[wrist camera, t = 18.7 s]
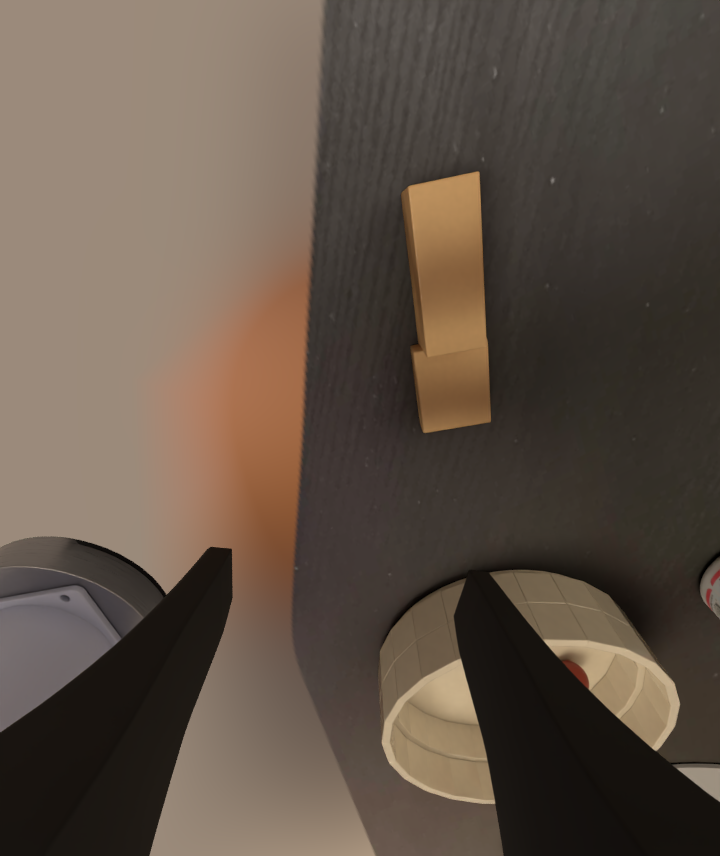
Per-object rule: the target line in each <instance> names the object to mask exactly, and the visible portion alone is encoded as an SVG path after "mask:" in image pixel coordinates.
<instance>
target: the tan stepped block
mask: <svg viewBox="0 0 720 856" xmlns="http://www.w3.org/2000/svg"><path fill="white" fill-rule="evenodd" d="M401 200H402V208H403V217H404V225H405V234H406V242H407V250H408V259H409V267H410V276H411V284H412V293H413V301H414V309H415V318H416V326H417V335H418V343H419V344H416V345H412V346H410V351H411V358H412V366H413V374H414V382H415V389H416V397H417V405H418V413H419V420H420V425H421V428H422V431H423V433H428V432H434V431H440V430H446V429H452V428H458V427H465V426H471V425H477V424H483V423H489V422H491V408H490V383H489V358H488V340H487V338H486V317H485V293H484V269H483V244H482V220H481V196H480V173H479V172H478V171H477V172H472V173H467V174H462V175H458V176H453V177H448V178H443V179H439V180H434V181H429V182H425V183H420V184H415V185H410V186H408V187H407V188H406V189H405V190H404V191H403V192H402V193H401Z"/></svg>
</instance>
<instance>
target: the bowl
mask: <svg viewBox="0 0 720 856" xmlns="http://www.w3.org/2000/svg"><path fill="white" fill-rule="evenodd" d="M489 573H490V575H491V576H492V577H493V578H494V580H495V581H496V582H497V583H498V585H499V586H500V587H501V589H502V590H503V591H504V592H505V594H506V595H507V596H508V598H509V599H510V600H511V601H512V603H513V604H514V605H515V607H516V608H517V609H518V610H519V612H520V613H521V614H522V615H523V617H524V618H525V619H526V620H527V622H528V623H529V624H530V625H531V626H532V628H533V629H534V630H535V631H536V632H537V634H538V635H539V636H540V637H541V638H542V640H543V641H544V642H545V643H546V644H547V645H548V646H549V648H550V649H551V650H552V651H553V652H554V653H555V654H556V655H557V657H558V658H559V659H560V660H561V661H564V660H567V661H572V662H574V663H576V664H578V665H579V666H580V667H581V668H582V669H583V670H584V671H585V673H586V674H587V676H588V680H589V690H590V691H591V692H592V693H593V694H594V695H595V696H596V697H597V698H598V699H599V700H600V701H601V702H602V703H603V704H604V705H605V706H606V707H607V708H608V709H609V710H610V711H611V712H612V713H613V714H614V715H615V716H617V717H618V718H619V719H620V720H621V721H622V722H623V723H624V724H625V725H626V726H628V727H629V728H630V729H631V730H632V731H633V732H634V733H635V734H637V735H638V736H639V737H640V738H641V739H642V740H643V741H644V742H646V743H647V744H648V745H649V746H650V747H651V748H653V749H654V750H655V751H656V750H658V749H659V748H660V747H661V746H662V744H663V743H664V741H665V740H666V739H667V737H668V736H669V734H670V733H671V731H672V730H673V729H674V726H675V724H676V720H677V716H678V712H679V707H680V702H679V698H678V695H677V691H676V687H675V684H674V682H673V680H672V679H671V677H670V676H669V675H668V673H667V672H666V670H665V669H664V668H663V666H662V665H661V663H660V662H659V661H658V659H657V658H656V656H655V655H654V653H653V652H652V651H651V649H650V648H649V646H648V645H647V644H646V642H645V641H644V639H643V638H642V637H641V635H640V634H639V632H638V631H637V630H636V628H635V627H634V625H633V624H632V622H631V621H630V620H629V618H628V617H627V615H626V614H625V613H624V612H623V610H622V609H621V608H620V607H619V606H618V605H617V604H616V603H615V602H614V600H613V599H612V598H611V597H610V596H609V595H608V594H606V593H604V592H602V591H600V590H599V589H597V588H595V587H593V586H591V585H589V584H588V583H586V582H584V581H581V580H577V579H573V578H570V577H567V576H564V575H560V574H556V573H551V572H546V571H537V570H505V571H496V572H489ZM465 581H466V578H465V579H462V580H459V581H456V582H454V583H451V584H449V585H446V586H444V587H442V588H440V589H438V590H436V591H434V592H433V593H431V594H429V595H427V596H426V597H424V598H423V599H422V600H420V601H419V602H417V603H416V604H415V605H414V606H412V607H411V608H410V609H409V610H408V611H407V612H406V613H405V614H404V615H403V616H402V617H401V618H400V620H399V621H398V622H397V623H396V625H395V626H394V627H393V628H392V629H391V631H390V632H389V634H388V636H387V638H386V640H385V642H384V644H383V646H382V648H381V650H380V657H379V666H378V680H379V700H380V720H381V740H382V745H383V748H384V751H385V754H386V756H387V759H388V762H389V763H390V764H391V765H392V767H393V768H394V769H395V770H396V771H397V772H398V773H399V774H400V775H401V776H402V777H403V778H404V779H406V780H407V781H409V782H411V783H413V784H414V785H416V786H418V787H420V788H421V789H423V790H425V791H427V792H431V793H434V794H437V795H440V796H443V797H446V798H450V799H454V800H461V801H468V802H475V803H483V804H495V799H494V793H493V788H492V782H491V777H490V772H489V766H488V761H487V756H486V751H485V747H484V743H483V738H482V734H481V731H480V727H479V723H478V720H477V716H476V712H475V709H474V705H473V702H472V698H471V694H470V691H469V687H468V683H467V680H466V676H465V672H464V669H463V665H462V661H461V657H460V654H459V649H458V643H457V637H456V630H455V623H454V613H455V610H456V607H457V604H458V601H459V598H460V596H461V593H462V590H463V587H464V584H465Z"/></svg>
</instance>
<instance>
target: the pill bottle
mask: <svg viewBox="0 0 720 856" xmlns="http://www.w3.org/2000/svg"><path fill="white" fill-rule="evenodd" d="M700 593H701V597H702V599H703V601H704V602H705V603H706V605H707V606H708V607H709V608H710V609H711V610H712V611H713V612H714V613H715V614H716V615H717V616H718V618H719V619H720V556H719V557H718V558H717V559H716V560H715V561H714V562H712V564H711V565H710V566H709V567H708V568H707V570H706V571H705V573H704V575H703V577H702V579H701V583H700Z"/></svg>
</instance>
